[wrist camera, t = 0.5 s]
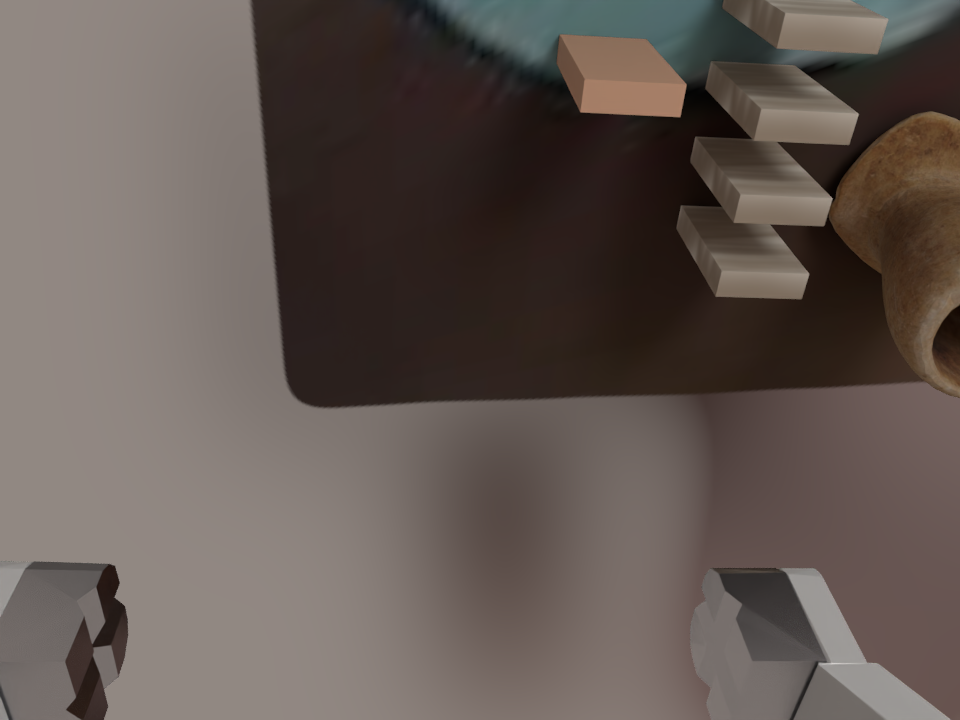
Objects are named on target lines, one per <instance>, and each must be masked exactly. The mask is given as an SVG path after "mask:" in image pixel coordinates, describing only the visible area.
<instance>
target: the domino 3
mask: <svg viewBox="0 0 960 720" xmlns="http://www.w3.org/2000/svg"><path fill="white" fill-rule="evenodd" d="M705 89H706V90H707V91H708V92H709V93H710V94H711V95H712V96H713V97H714V98H715V100H716V101H717V102H718V103H719V104H720V105H721V106H722V107H723V108H724V109H725V110H726V111H727V112H728V113H729V115H730V116H731V117H732V118H733V119H734V120H735V121H736V122H737V123H738V124H739V125H740V126H741V127H742V128H743V130H744V131H745V132H746V133H747V134H748V135H749V136H750V137H751V138H752V139H753V140H754V141H775V142H796V143H817V144H838V145H849V144H850V141H851V137H852V134H853V131H854V128H855V125H856V121H857V118H858V115H859V114H858V113H857V112H856V111H854V110H853V109H852V108H850V107H849V106H848V105H846V104H845V103H844V102H842V101H841V100H840V99H838V98H837V97H836V96H834V95H833V94H832V93H830V92H829V91H828V90H826V89H825V88H824V87H822V86H821V85H820V84H818V83H817V82H816V81H814V80H813V79H812V78H810V77H809V76H808V75H806V74H805V73H804V72H802V71H801V70H800V69H798V68H797V67H796V66H794V65H777V64H758V63H740V62H722V61H711V64H710V68H709V73H708V78H707V83H706V88H705Z"/></svg>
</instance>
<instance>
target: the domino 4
mask: <svg viewBox="0 0 960 720" xmlns="http://www.w3.org/2000/svg"><path fill="white" fill-rule="evenodd" d="M690 162H691V164H692V165H693V167H694V168H695V169H696V171H697V172H698V174H699V175H700V176H701V178H702V179H703V181H704V182H705V183H706V185H707V186H708V188H709V189H710V190H711V192H712V193H713V195H714V196H715V197H716V199H717V200H718V202H719V203H720V204H721V206H722V207H723V209H724V210H725V211H726V213H727V214H728V216H729V217H730V218H731V220H732V221H733V223H752V224H778V225H804V226H824V225H825V222H826V219H827V215H828V212H829V209H830V206H831V202H832V199H833V198H832V197H831V196H830V195H829V194H828V193H827V192H826V191H825V190H824V189H823V188H822V187H821V186H820V185H819V184H818V183H817V182H816V181H815V180H814V179H813V178H812V177H811V176H810V175H809V174H808V173H807V172H806V171H805V170H804V169H803V168H802V167H801V166H800V165H799V164H798V163H797V162H796V161H795V160H794V159H793V158H792V157H791V156H790V155H789V154H788V153H787V152H786V151H785V150H784V149H783V148H782V147H781V146H780V145H779V144H778V143H777V142H775V141H754V140H753V139H737V138H716V137H695V141H694V145H693V150H692V155H691V160H690Z"/></svg>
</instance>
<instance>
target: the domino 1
mask: <svg viewBox="0 0 960 720" xmlns="http://www.w3.org/2000/svg"><path fill="white" fill-rule="evenodd" d="M557 65H558V67H559V69H560V71H561V74H562V76H563V78H564V80H565V82H566V84H567V86H568V88H569V90H570V92H571V94H572V96H573V98H574V100H575V102H576V104H577V106H578V108H579V110H580V112H584V113H604V114H625V115H646V116H666V117H680V116H681V111H682V106H683V101H684V96H685V91H686V86H687V84H686V83H685V82H684V81H683V80H682V79H681V78H680V76H679V75H678V74H677V73H676V72H675V71H674V70H673V69H672V67H671V66H670V65H669V64H668V63H667V62H666V61H665V60H664V58H663V57H662V56H661V55H660V54H659V53H658V52H657V51H656V49H655V48H654V47H653V46H652V45H651V44H650V43H649V42H648V40H647V39H633V38H615V37H597V36H579V35H562V34H560V37H559V46H558V55H557Z"/></svg>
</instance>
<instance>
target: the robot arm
mask: <svg viewBox="0 0 960 720" xmlns="http://www.w3.org/2000/svg"><path fill="white" fill-rule="evenodd" d="M119 584H120V582H119V579H118V575H117V571H116V568H115V566H114V565H111V564H93V563H63V562H14V561H13V562H12V561H0V720H104V717H105V715H106V711H107V708H108V704H107V700H106V696H105V692H104V689H105V688H106V687H107V686H108V685H109V684H111V683H112V682H113V681H114V680H115V679H116V678H118V677H119V674H120V670H121V667H122V664H123V661H124V658H125V652H126V646H127V638H128V619H127V614H126V609H125V606H124V605H123V604H122V603H120V602H119V601H118V600H116V599H115V598H114V597H115V595H116V592H117V589H118V586H119ZM702 590H703V593H704V596H705V599H706V600H705V601H704V602H703V603H701V604H700V605H699V606H698V607H696V608H695V610H694V614H693V618H692V622H691V631H690V645H691V652H692V658H693V662H694V665H695V669H696V672H697V675H698V676H699V677H700V678H701V679H702V680H703V681H704V682H705V683H706V684H707V685H708V686H710V687H711V690H710V693H709V696H708V700H707V702H706V705H707V708H708V711H709V714H710V717H711V720H951V719H949V718H948V717H947V716H945V715H944V714H943V713H941V712H940V711H938V709H936V708H935V707H934V706H932V705H931V704H930V703H928V702H927V701H926V700H925V699H923V698H922V697H921V696H919V695H918V694H917V693H915V692H914V691H913V690H912V689H910V688H909V687H908V686H906V685H905V684H904V683H903V682H901V681H900V680H899V679H897V678H896V677H895V676H893V675H892V674H891V673H889V672H888V671H887V670H886V669H884V668H883V667H882V666H881V665H879V664H878V663H867V662H866V660H865V658H864V656H863V654H862V652H861V650H860V648H859V646H858V644H857V643H856V640H855V639H854V637H853V635H852V633H851V631H850V629H849V627H848V625H847V623H846V621H845V619H844V617H843V616H842V614H841V612H840V610H839V608H838V606H837V604H836V602H835V600H834V598H833V597H832V594H831V592H830V591H829V589H828V587H827V585H826V583H825V581H824V579H823V577H822V575H821V574H820V573H819V572H818V571H817V570H816V569H814V568H806V569H805V568H798V569H797V568H780V569H776V568H711V569H710V570H709V571H708V572H707V573H706V575H705V578H704V581H703V584H702Z"/></svg>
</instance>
